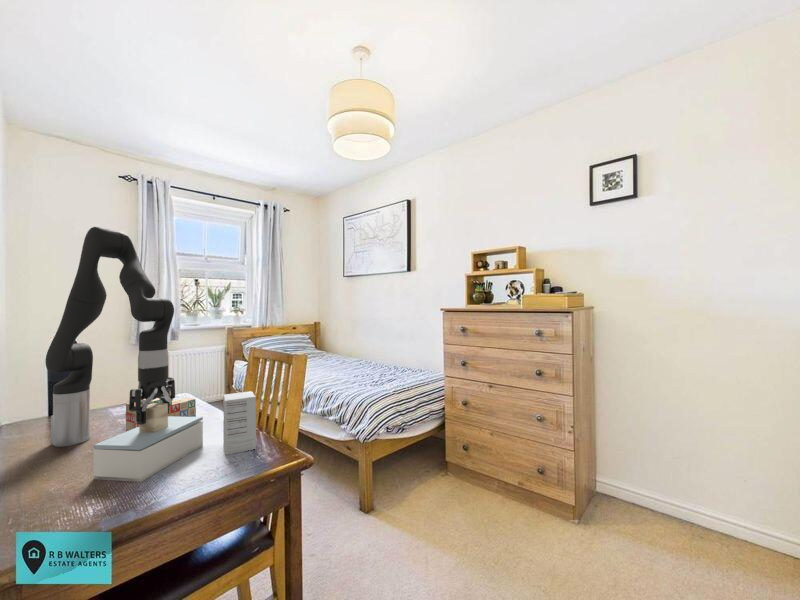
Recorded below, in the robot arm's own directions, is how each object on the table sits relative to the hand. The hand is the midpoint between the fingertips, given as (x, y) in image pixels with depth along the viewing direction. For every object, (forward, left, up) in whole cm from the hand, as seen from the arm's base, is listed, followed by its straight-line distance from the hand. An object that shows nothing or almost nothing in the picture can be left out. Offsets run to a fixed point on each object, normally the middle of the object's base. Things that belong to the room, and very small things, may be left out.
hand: (153, 419), depth 106 cm
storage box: (0, 0, -12) cm, 12 cm away
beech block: (0, 0, -3) cm, 3 cm away
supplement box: (+20, +12, -12) cm, 26 cm away
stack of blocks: (-18, +24, -13) cm, 33 cm away
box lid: (0, 0, -4) cm, 4 cm away
